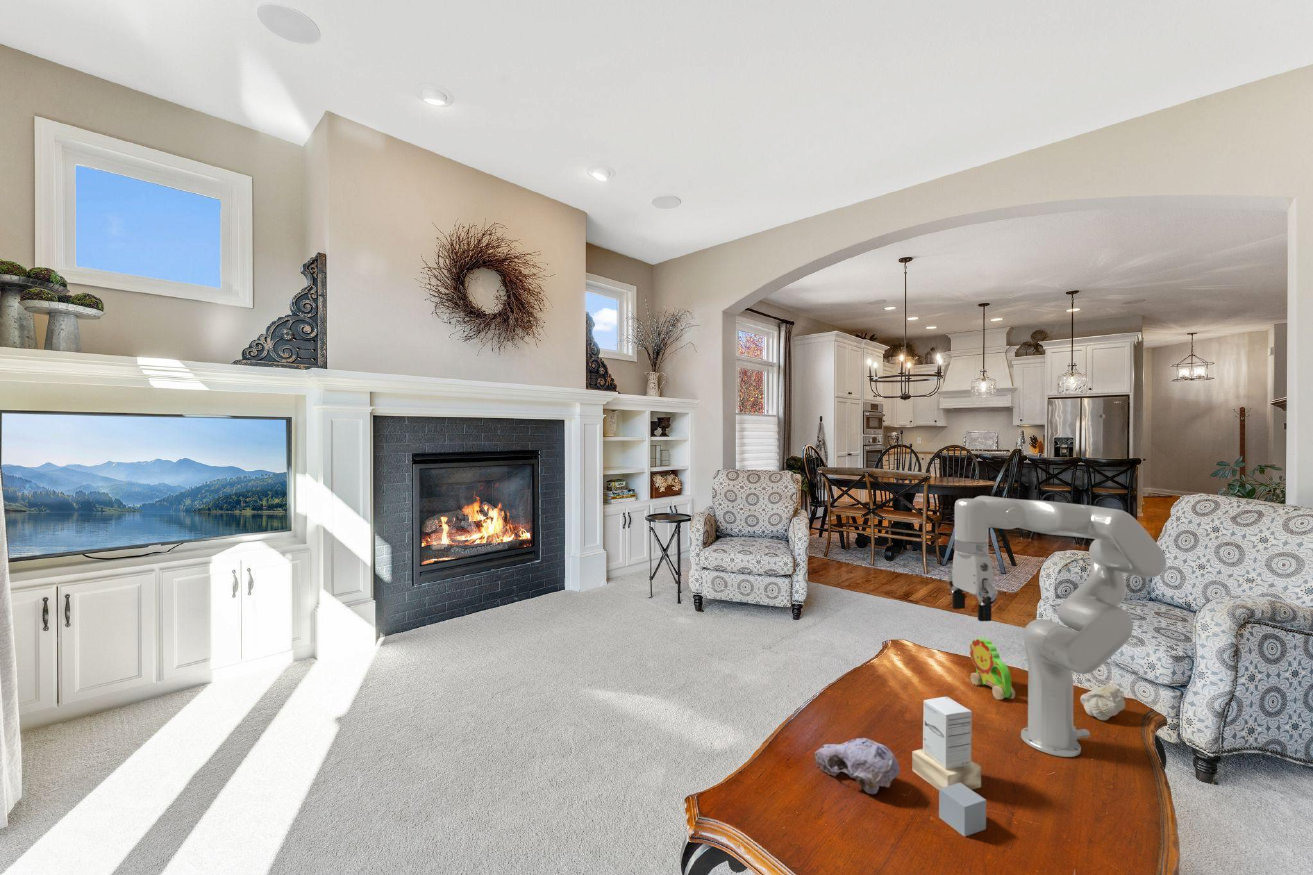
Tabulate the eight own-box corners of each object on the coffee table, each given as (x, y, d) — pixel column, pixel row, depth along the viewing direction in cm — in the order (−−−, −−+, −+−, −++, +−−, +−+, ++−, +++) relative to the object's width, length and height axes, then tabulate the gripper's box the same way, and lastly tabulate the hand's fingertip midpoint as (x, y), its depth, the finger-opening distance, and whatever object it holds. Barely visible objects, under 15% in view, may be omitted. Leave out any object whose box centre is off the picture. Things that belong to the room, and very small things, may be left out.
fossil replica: (1081, 719, 154) (1127, 732, 149) (1085, 692, 153) (1131, 704, 148) (1076, 699, 164) (1119, 710, 159) (1079, 672, 164) (1123, 683, 158)
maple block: (944, 763, 133) (944, 743, 133) (980, 788, 124) (981, 766, 124) (912, 772, 130) (912, 751, 130) (947, 798, 121) (947, 775, 121)
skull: (808, 773, 131) (806, 729, 133) (838, 759, 138) (835, 717, 140) (882, 807, 116) (878, 758, 117) (911, 789, 123) (908, 742, 124)
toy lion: (1016, 701, 164) (1016, 651, 164) (1000, 702, 164) (1000, 651, 164) (980, 678, 180) (980, 632, 180) (964, 679, 180) (964, 633, 180)
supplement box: (921, 752, 130) (921, 699, 130) (947, 747, 132) (947, 695, 132) (945, 770, 122) (945, 714, 122) (972, 765, 124) (972, 710, 124)
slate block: (959, 810, 116) (960, 782, 116) (986, 829, 111) (986, 799, 111) (939, 817, 114) (939, 788, 114) (964, 837, 109) (964, 806, 109)
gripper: (1010, 554, 131) (1010, 625, 131) (962, 540, 148) (962, 603, 148) (981, 555, 130) (981, 626, 130) (936, 541, 148) (936, 604, 148)
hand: (971, 614), depth 139 cm, fingers open, 9 cm apart
